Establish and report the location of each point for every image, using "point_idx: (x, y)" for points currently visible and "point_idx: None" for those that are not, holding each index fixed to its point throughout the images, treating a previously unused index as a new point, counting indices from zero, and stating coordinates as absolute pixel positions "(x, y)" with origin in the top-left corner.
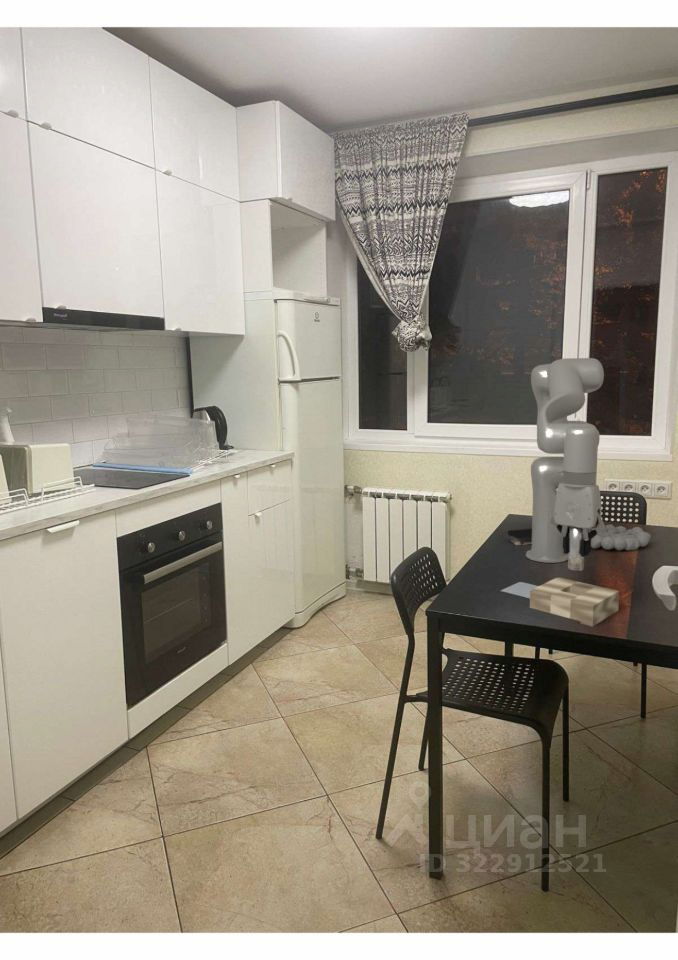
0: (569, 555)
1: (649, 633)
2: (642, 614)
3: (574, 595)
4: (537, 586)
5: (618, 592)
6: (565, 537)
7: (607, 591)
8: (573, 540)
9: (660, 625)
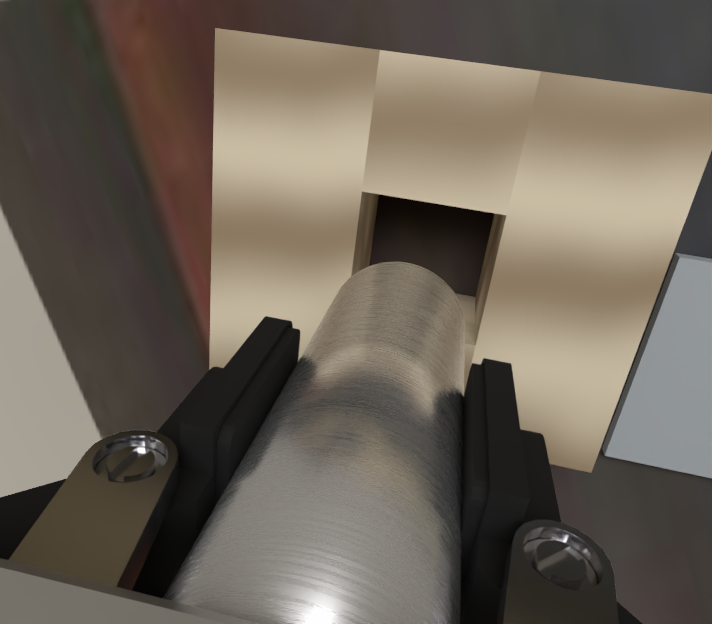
0: (435, 337)
1: (37, 120)
2: (155, 343)
3: (390, 173)
4: (707, 468)
5: None
6: (510, 503)
7: None
8: (352, 430)
9: (50, 250)
